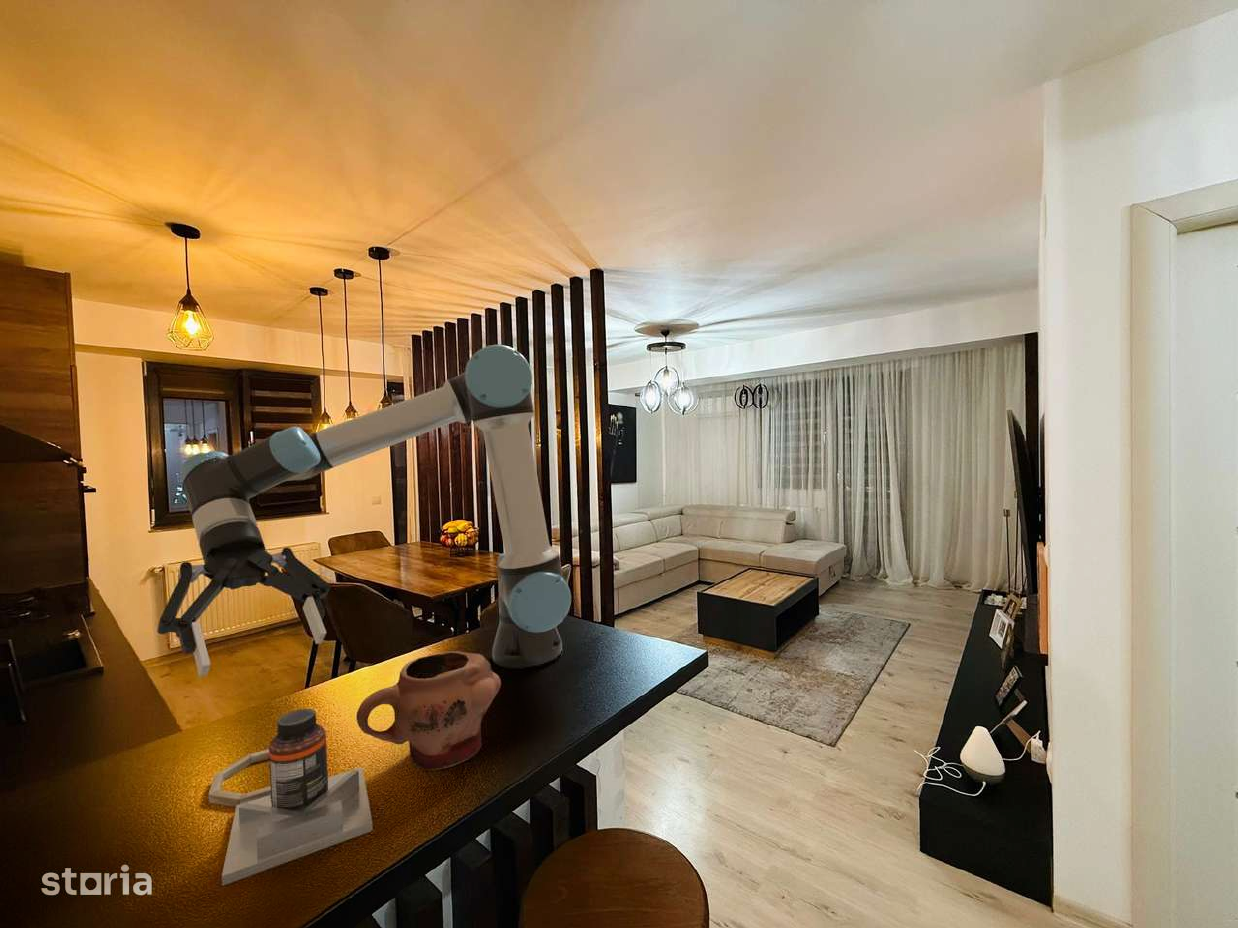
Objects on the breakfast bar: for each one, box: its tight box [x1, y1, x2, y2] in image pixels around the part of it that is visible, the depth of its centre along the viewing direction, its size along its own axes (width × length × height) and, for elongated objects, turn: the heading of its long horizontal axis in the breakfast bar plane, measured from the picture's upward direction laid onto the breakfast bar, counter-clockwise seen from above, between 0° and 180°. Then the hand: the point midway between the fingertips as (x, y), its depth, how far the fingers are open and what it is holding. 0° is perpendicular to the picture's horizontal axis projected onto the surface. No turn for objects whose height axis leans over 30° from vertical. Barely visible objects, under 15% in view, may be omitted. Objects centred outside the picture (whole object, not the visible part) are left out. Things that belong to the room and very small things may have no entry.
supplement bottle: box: [268, 708, 329, 812], centre depth 63 cm, size 6×6×11 cm
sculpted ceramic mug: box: [356, 650, 502, 771], centre depth 74 cm, size 20×12×14 cm, turn 130°
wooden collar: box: [208, 748, 271, 808], centre depth 71 cm, size 12×12×1 cm
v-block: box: [221, 766, 374, 887], centre depth 62 cm, size 13×14×4 cm
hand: (267, 653), depth 70 cm, fingers open, 13 cm apart
